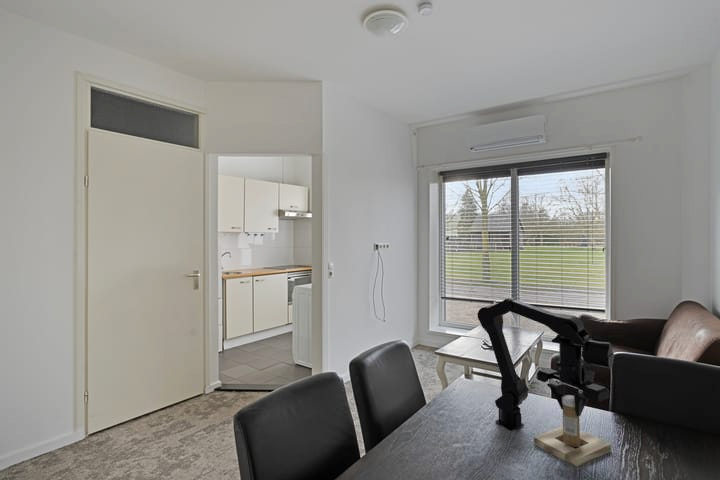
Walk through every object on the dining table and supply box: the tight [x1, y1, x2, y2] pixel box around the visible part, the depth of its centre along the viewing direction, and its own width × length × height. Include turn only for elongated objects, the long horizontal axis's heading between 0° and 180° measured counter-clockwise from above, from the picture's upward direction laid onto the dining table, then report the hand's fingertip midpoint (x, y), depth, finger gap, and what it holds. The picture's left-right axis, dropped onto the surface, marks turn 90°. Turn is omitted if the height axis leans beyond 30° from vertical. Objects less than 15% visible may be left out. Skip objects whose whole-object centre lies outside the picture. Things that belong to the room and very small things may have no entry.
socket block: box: [533, 425, 612, 468], centre depth 108 cm, size 13×16×2 cm
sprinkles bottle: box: [562, 394, 581, 447], centre depth 108 cm, size 5×5×14 cm
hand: (570, 412), depth 108 cm, fingers closed on sprinkles bottle, 4 cm apart
